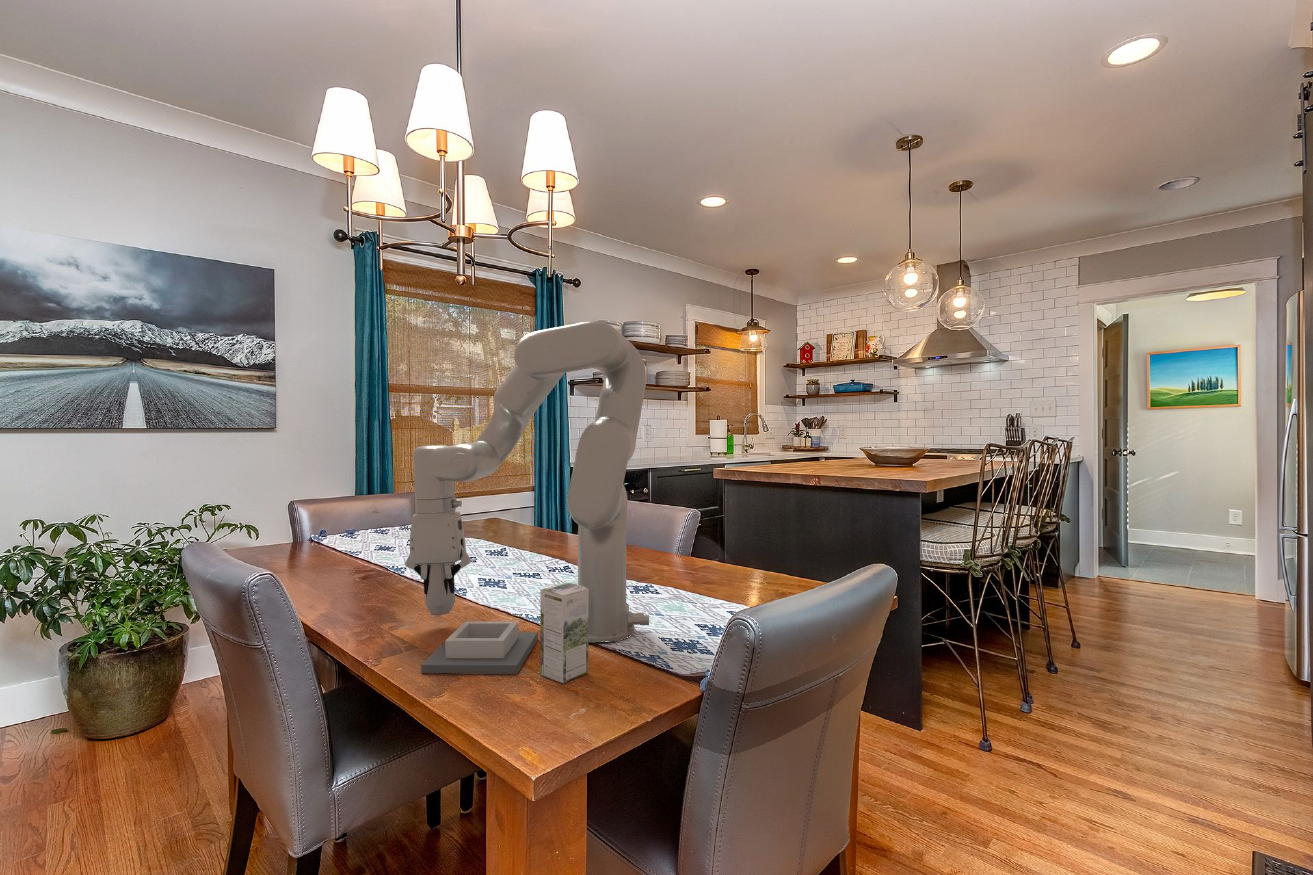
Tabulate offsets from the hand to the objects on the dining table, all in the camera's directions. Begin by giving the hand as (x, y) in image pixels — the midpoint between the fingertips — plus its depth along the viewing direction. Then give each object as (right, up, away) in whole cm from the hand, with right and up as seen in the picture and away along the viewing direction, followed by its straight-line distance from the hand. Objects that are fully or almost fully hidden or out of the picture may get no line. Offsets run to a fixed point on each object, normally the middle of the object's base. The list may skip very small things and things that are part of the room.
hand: (439, 596), depth 124 cm
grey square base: (+13, -7, -14) cm, 20 cm away
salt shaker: (0, -3, 0) cm, 4 cm away
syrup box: (+29, -7, -22) cm, 37 cm away
